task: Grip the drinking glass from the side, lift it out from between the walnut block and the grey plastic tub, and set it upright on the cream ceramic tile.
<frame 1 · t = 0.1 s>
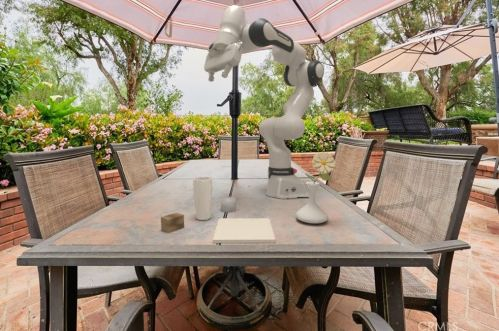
hand: (217, 79, 98), 52 cm above the table, tool tilted 20°, fingers open, 8 cm apart
walnut block: (173, 229, 83), on the table
cream tile: (244, 230, 81), on the table
flower in vase: (313, 221, 91), on the table
grey plastic tub: (228, 210, 103), on the table
drinking glass: (203, 218, 93), on the table
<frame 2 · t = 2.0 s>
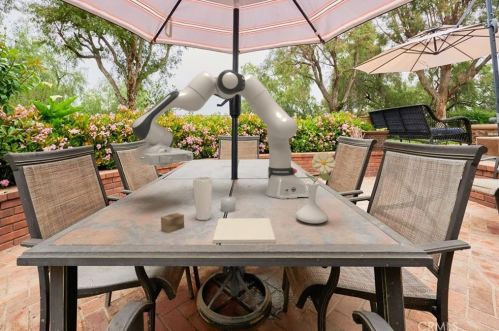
hand: (181, 158, 98), 21 cm above the table, tool horizontal, fingers open, 8 cm apart
nothing on the table moved.
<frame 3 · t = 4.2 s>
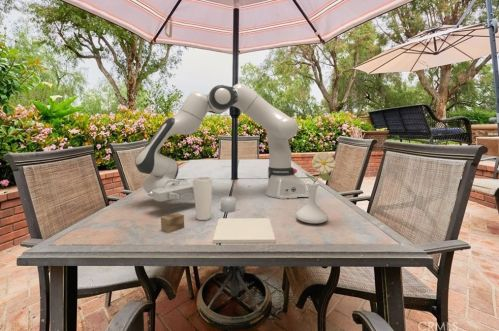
hand: (189, 194, 97), 8 cm above the table, tool horizontal, fingers open, 8 cm apart
nothing on the table moved.
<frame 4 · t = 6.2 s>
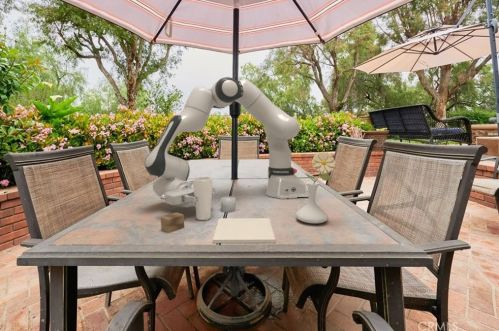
hand: (204, 197, 91), 8 cm above the table, tool horizontal, fingers closed on drinking glass, 6 cm apart
drinking glass: (203, 218, 93), on the table, touching gripper
everything else where it was.
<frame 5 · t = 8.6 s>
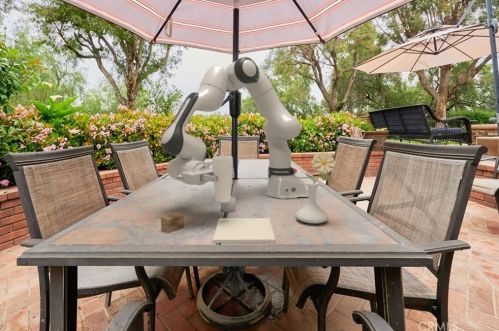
hand: (224, 177, 84), 17 cm above the table, tool horizontal, fingers closed on drinking glass, 6 cm apart
drinking glass: (223, 201, 86), point 8 cm above the table, touching gripper
everything else where it was.
when the fingers open (10 cm above the table, at t = 11.3 s): drinking glass stays where it is, resting on cream tile.
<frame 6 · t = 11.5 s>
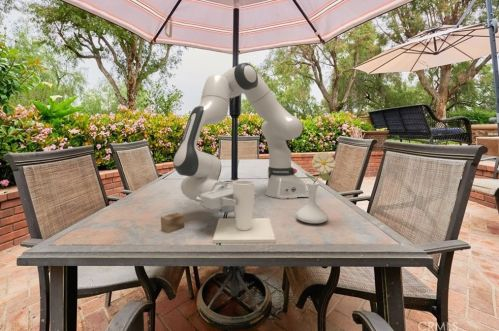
hand: (246, 199, 79), 10 cm above the table, tool horizontal, fingers open, 8 cm apart
drinking glass: (243, 228, 81), point 1 cm above the table, touching cream tile
everything else where it was.
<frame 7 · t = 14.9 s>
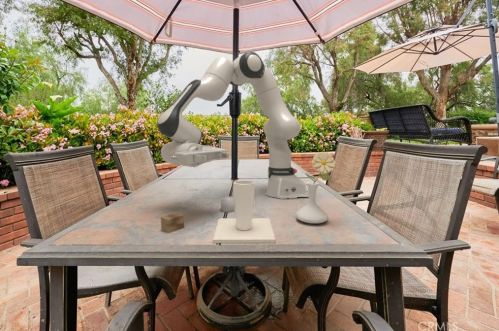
hand: (217, 157, 86), 23 cm above the table, tool horizontal, fingers open, 8 cm apart
nothing on the table moved.
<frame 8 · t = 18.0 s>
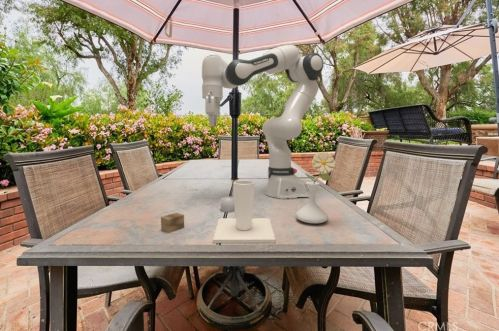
hand: (213, 126, 112), 34 cm above the table, tool pointing down, fingers open, 8 cm apart
nothing on the table moved.
at the end: drinking glass inside the target area on the cream tile (0.1 cm from its centre), point 0.8 cm above the cream tile's base; drinking glass tilted 0°; the gripper is holding nothing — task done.
